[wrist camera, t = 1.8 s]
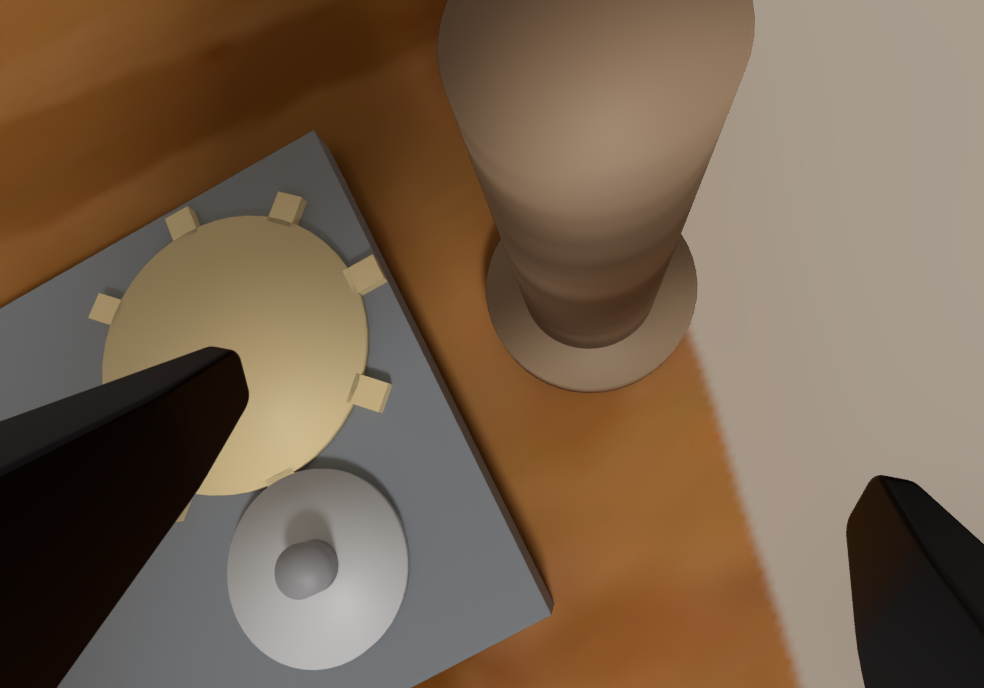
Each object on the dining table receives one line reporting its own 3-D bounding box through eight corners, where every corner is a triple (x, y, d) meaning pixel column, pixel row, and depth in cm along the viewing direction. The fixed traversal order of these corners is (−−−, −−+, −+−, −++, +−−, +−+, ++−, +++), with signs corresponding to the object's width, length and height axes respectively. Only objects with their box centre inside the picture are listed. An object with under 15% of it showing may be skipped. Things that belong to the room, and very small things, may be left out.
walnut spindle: (731, 331, 20) (981, 90, 7) (548, 429, 20) (481, 361, 7) (625, 170, 22) (677, -247, 9) (459, 261, 22) (285, -19, 9)
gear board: (554, 603, 19) (548, 627, 16) (131, 822, 19) (55, 881, 17) (330, 150, 24) (295, 108, 21) (-1, 338, 24) (-77, 321, 22)
